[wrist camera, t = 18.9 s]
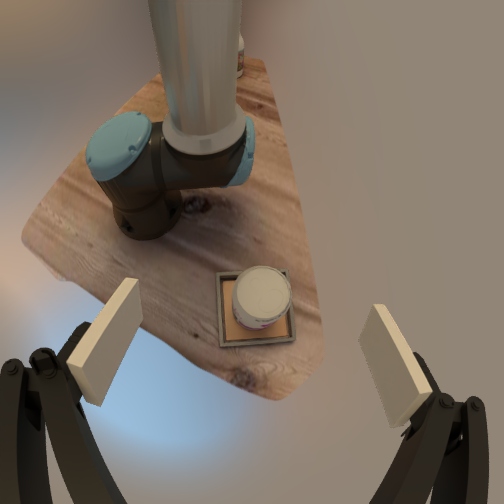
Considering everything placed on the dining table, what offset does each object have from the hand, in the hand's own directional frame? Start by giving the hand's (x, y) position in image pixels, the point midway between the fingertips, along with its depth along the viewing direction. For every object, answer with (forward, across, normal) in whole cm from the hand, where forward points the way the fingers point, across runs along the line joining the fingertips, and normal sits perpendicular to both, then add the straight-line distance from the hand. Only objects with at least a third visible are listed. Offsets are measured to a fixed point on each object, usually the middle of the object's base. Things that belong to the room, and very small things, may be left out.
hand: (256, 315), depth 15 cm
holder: (+29, +2, -21) cm, 36 cm away
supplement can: (+29, +2, -21) cm, 36 cm away
